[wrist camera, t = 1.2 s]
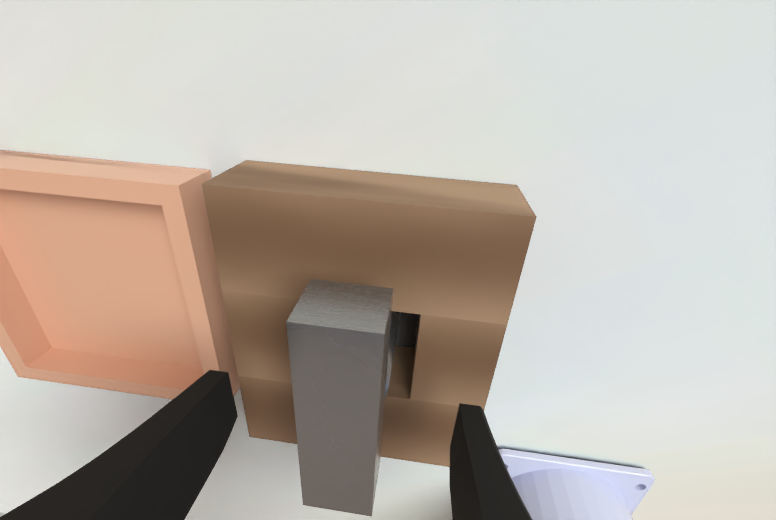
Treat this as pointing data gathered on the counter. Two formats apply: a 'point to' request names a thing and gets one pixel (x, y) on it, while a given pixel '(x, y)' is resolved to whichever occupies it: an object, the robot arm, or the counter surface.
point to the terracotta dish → (109, 275)
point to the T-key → (341, 389)
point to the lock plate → (370, 283)
